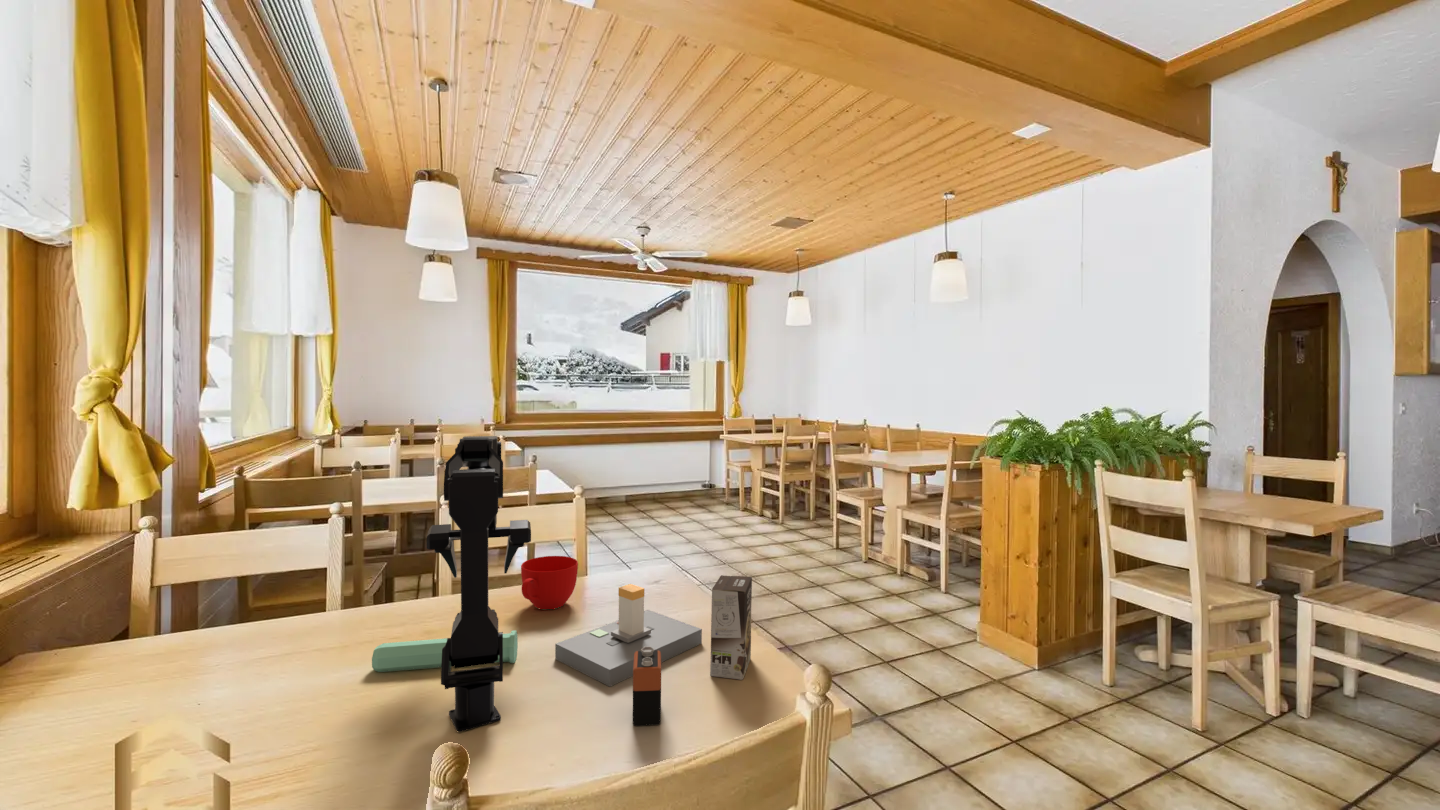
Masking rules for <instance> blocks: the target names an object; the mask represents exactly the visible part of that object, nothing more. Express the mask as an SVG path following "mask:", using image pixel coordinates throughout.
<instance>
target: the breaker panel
mask: <svg viewBox="0 0 1440 810" xmlns="http://www.w3.org/2000/svg"><path fill="white" fill-rule="evenodd" d="M644 627H646V628H648V629H651V634H648V635H646V636H644V637H641V638H639V639H636V640H634V641H631V642H629V643H627V642H625V641H622V640H620V639H618V638H615V637H613V636H611V631H614V630H617V629H619V619H617V620H616V621H613V622H609V623H608V624H605V625H602V626H598V627H597V628H594V629H592V630H588V631H585V632H583V633H580V634H578V635H575V636H572V637H569V638H567V639H563V640H562V641H558V642H556V643H555V645H554V646H555V650H554V651H555V654H554V655H555V660H557V661H558V662H560V663H562V664H564V665H567V666H568V667H569V668H570V667H571V668H572V669H574V670H576V671H578V672H580V673H582V674H584V675H586V676H587V677H590V678H591V679H594V680H596V681H597V682H600V683H602V684H604V685H605V686H607V687H609V688H610V687H613V686H614V685H616V684H618V683H621V682H622V681H625V680H627V679H630V678H632V677H633V664H634V653H635V652H636V651H641V649H642V648H643V647H652V648H653V649H654V650H659V651H660V652H661V663H663V662H666V661H667V660H670V659H672V658H674V657H676V656H678V655H680V654H682V653H685V652H687V651H689V650H691V649H693V648H695V647H697V646H700V645H702V642H703V641H702V640H703V633H702V632H703V629H702V628H700V627H697V626H694V625H692V624H689V623H686V622H683V621H681V620H679V619H676V618H673V617H669V616H667V615H664V614H661V613H658V612H656V611H654V610H650V609H644ZM699 644H700V645H699Z"/></svg>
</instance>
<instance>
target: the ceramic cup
mask: <svg viewBox="0 0 1440 810" xmlns="http://www.w3.org/2000/svg"><path fill="white" fill-rule="evenodd" d="M578 569H579V562H578V560H577V559H575V558H574V557H571V556H565V555H546V556H539V557H533V558H530V559H528V560H525V561H524V562H522V563H521V565H520V572H521V573H520V574H521V583H522V585H521V595H522V596H523V597H524V598H525V600H528V601H529V602H530V603H531V604H532V605H533V606H534V607H535V608H536V607H537V608H540V609H553V610H555V609H554V608H558V607H560V608H562V607H563V606H564V605H565V603H567V601H568V600H569V599H570V598H571V596H572V595H573V593H574V592H575V591H574V590H575V588H576V585H577V579H578ZM561 606H562V607H561ZM537 608H536V609H537ZM540 609H539V610H540ZM558 609H559V608H558Z"/></svg>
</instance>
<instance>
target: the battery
mask: <svg viewBox="0 0 1440 810" xmlns="http://www.w3.org/2000/svg"><path fill="white" fill-rule="evenodd" d="M661 711H662V662H661V652H660V651H659V650H654V649H653V648H652V647H643V648H642V649H641V651H636V652H635V653H634V664H633V676H632V725H633V726H636V727H638V726H639V727H640V726H641V727H642V726H658V725H660V724H661V720H662V715H661V714H662V712H661Z"/></svg>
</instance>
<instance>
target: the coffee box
mask: <svg viewBox="0 0 1440 810" xmlns="http://www.w3.org/2000/svg"><path fill="white" fill-rule="evenodd" d="M752 584H753V577H752V576H745V575H744V576H743V575H724V574H723V575H720V576H719V577H718V579H717V581H716V583H715V584H714V586H713V587H712V588H711V613H710V615H711V618H710V621H711V623H710V665H709V666H710V668H709V669H710V670H709V671H710V672H709V673H710V674H709V675H710V676H711V677H717V678H725V679H733V680H740V681H741V680H744V678H745V675H746V672H747V670H748V667H749V664H750V661H751V659H752V656H751V655H752V653H751V651H752V601H753V600H752V598H753V596H752V595H753V594H752V591H753V589H752V588H753V585H752Z"/></svg>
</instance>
